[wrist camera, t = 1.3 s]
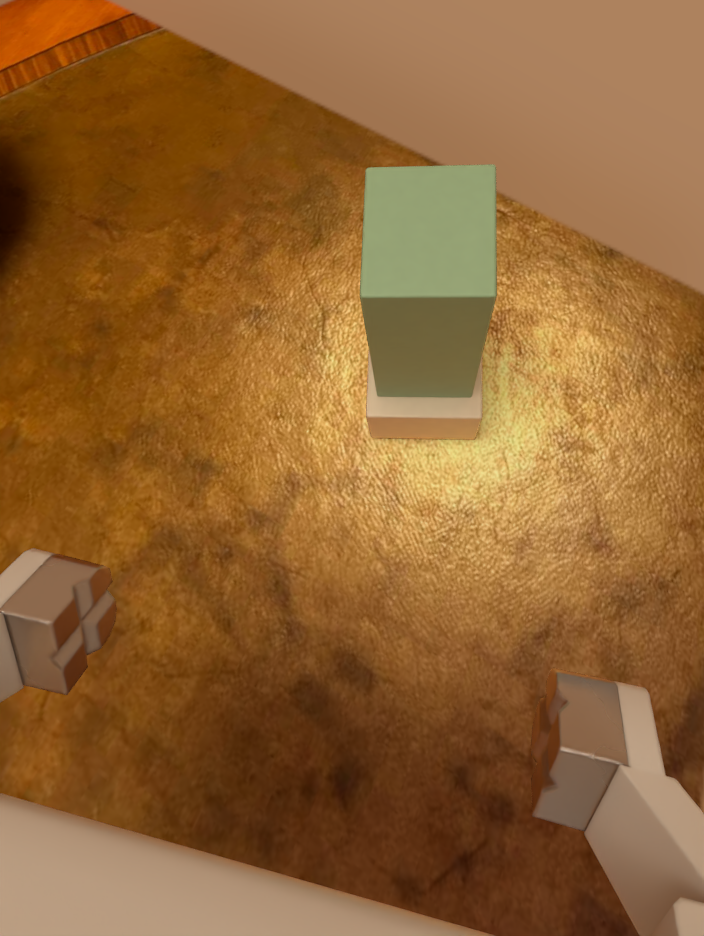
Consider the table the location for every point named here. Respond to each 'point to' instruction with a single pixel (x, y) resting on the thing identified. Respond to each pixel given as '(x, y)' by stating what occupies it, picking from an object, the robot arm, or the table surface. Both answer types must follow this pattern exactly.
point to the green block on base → (427, 297)
